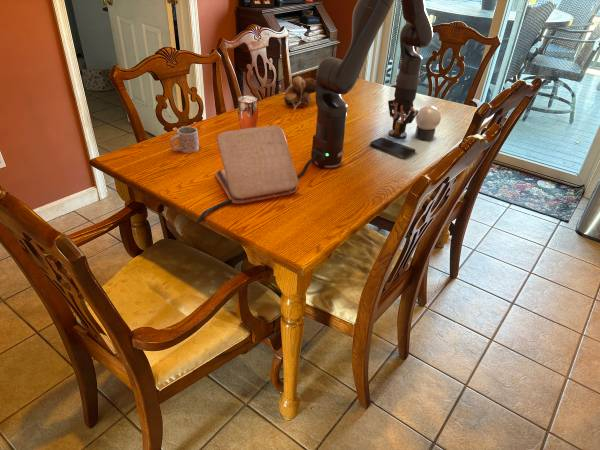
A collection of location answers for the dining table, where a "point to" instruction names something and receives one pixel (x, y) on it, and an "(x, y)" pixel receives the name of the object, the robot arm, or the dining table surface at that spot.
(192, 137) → the mug
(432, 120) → the ball
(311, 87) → the seed pod
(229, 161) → the case
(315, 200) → the dining table surface
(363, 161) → the dining table surface
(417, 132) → the stand
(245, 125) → the beer glass
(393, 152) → the phone
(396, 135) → the knob on round base
